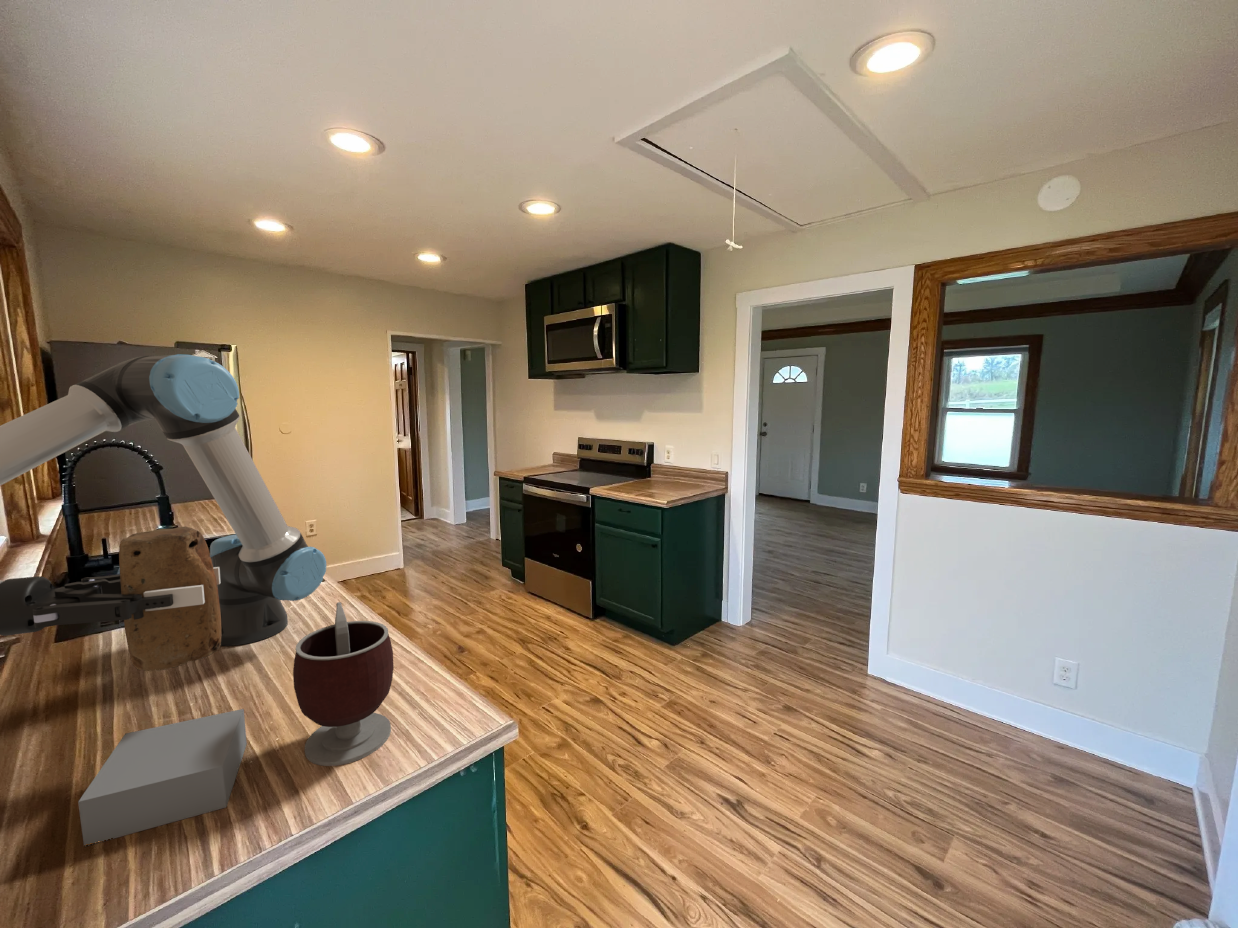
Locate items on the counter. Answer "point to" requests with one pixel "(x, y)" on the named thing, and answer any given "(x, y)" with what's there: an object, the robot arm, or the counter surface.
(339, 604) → the mate gourd
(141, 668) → the block
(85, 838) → the grey base block
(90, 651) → the counter surface
